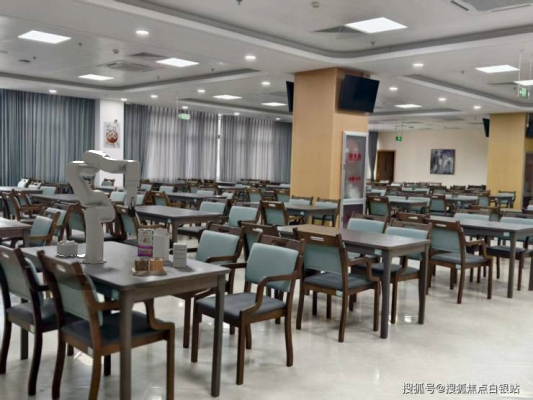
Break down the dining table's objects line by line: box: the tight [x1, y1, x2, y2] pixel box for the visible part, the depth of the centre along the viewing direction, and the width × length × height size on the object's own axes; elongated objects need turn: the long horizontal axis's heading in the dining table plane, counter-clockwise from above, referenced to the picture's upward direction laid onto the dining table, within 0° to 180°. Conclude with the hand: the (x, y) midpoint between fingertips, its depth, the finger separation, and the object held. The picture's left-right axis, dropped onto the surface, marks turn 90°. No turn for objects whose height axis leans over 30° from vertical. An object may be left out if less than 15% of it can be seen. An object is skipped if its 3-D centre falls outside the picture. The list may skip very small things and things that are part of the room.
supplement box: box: [172, 242, 188, 268], centre depth 296 cm, size 7×7×13 cm
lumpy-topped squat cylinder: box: [56, 239, 79, 257], centre depth 318 cm, size 10×13×9 cm
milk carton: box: [152, 227, 170, 263], centre depth 310 cm, size 7×7×19 cm
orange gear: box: [148, 258, 164, 271], centre depth 277 cm, size 7×7×5 cm
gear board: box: [130, 256, 168, 276], centre depth 276 cm, size 17×11×8 cm, turn 109°
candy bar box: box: [137, 228, 156, 258], centre depth 326 cm, size 11×5×16 cm, turn 68°
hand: (131, 216), depth 282 cm, fingers open, 9 cm apart
